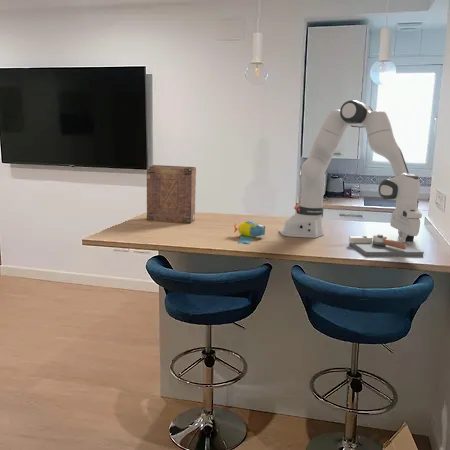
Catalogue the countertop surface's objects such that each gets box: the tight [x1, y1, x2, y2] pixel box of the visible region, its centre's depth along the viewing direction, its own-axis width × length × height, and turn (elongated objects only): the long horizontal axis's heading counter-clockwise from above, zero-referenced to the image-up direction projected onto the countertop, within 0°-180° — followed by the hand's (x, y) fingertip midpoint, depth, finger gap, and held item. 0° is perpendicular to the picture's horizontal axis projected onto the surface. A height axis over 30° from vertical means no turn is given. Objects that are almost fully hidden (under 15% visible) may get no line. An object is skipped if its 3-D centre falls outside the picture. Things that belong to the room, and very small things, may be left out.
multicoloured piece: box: [372, 234, 408, 250], centre depth 213 cm, size 16×6×4 cm, turn 37°
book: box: [146, 164, 197, 224], centre depth 263 cm, size 25×9×30 cm, turn 79°
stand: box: [348, 235, 424, 258], centre depth 216 cm, size 27×20×5 cm
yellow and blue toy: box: [233, 220, 266, 245], centre depth 232 cm, size 28×9×15 cm
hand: (401, 241), depth 212 cm, fingers closed
